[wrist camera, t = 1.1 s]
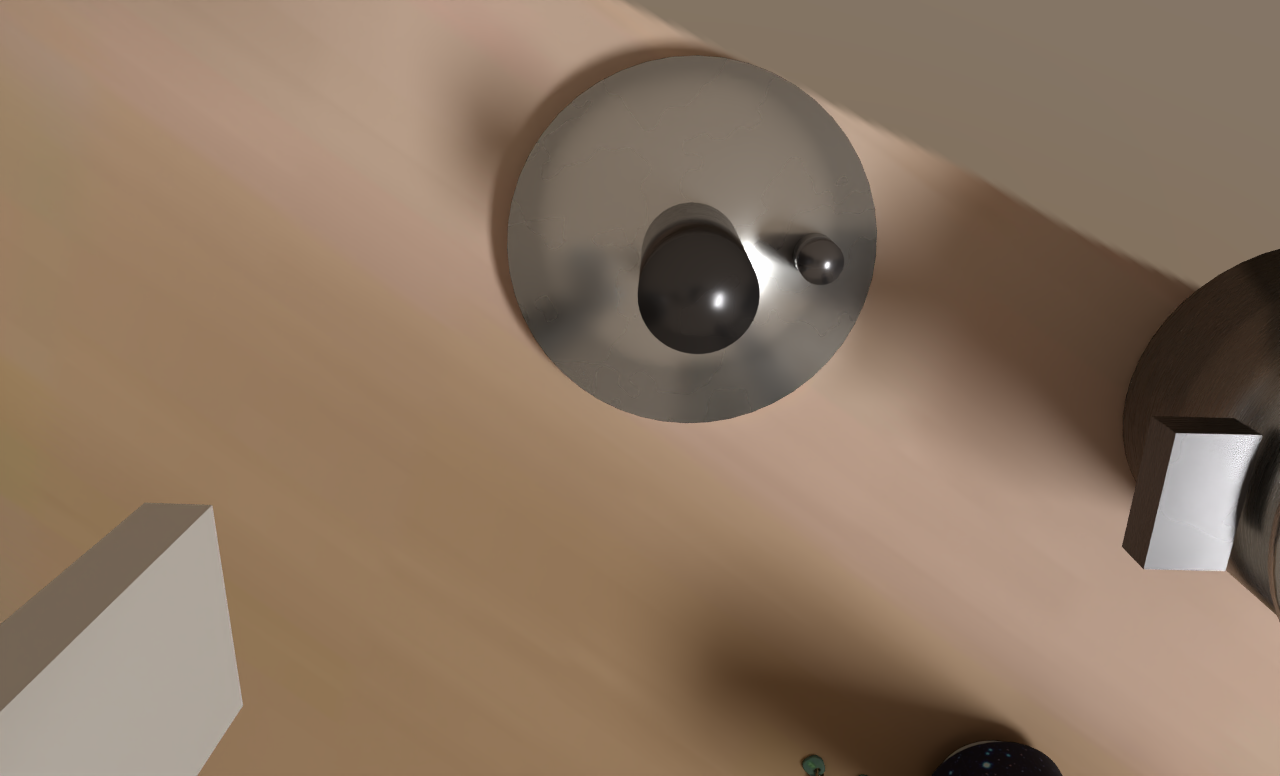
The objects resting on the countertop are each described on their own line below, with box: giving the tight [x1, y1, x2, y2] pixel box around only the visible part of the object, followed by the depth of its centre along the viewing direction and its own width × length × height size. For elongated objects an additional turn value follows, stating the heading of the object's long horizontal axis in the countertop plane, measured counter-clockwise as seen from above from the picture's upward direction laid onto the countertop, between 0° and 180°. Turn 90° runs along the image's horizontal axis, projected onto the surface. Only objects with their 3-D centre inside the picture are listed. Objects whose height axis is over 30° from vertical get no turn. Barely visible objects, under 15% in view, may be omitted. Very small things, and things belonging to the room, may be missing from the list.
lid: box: [507, 55, 877, 423], centre depth 27 cm, size 12×12×7 cm
